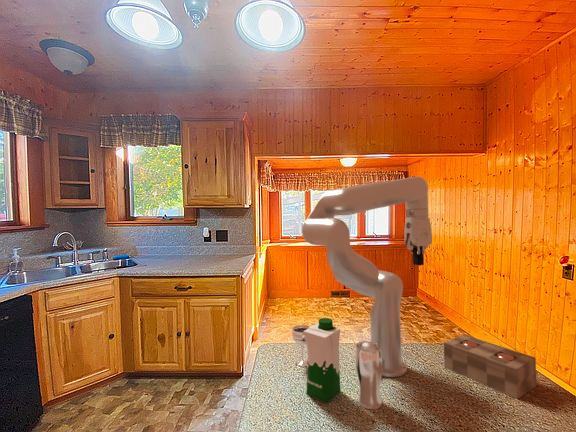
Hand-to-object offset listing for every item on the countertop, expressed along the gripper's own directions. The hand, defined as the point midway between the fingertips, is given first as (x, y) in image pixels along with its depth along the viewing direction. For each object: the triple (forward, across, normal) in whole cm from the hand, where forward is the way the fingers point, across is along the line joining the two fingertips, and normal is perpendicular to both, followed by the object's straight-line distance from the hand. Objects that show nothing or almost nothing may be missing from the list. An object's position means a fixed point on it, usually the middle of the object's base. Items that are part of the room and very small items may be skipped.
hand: (418, 264), depth 104 cm
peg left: (+32, +4, -15) cm, 36 cm away
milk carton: (+32, -44, 0) cm, 55 cm away
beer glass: (+32, -36, -10) cm, 49 cm away
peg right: (+32, +4, -25) cm, 41 cm away
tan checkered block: (+32, +4, -20) cm, 38 cm away
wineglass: (+32, -40, +17) cm, 54 cm away
